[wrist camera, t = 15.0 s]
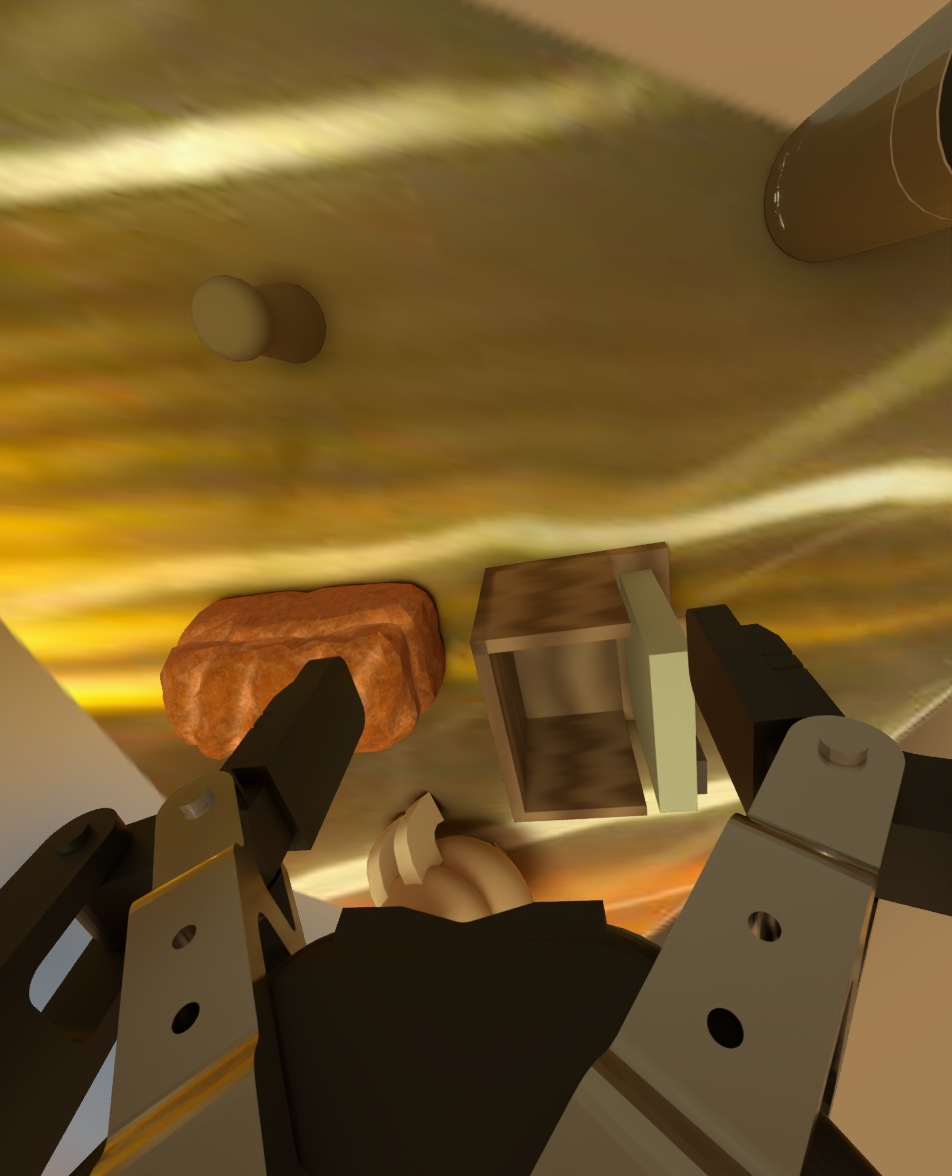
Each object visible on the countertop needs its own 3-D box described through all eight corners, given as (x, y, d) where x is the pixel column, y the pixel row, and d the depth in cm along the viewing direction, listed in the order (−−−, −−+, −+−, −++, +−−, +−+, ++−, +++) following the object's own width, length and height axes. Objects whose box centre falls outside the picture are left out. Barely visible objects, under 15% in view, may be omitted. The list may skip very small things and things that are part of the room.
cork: (309, 273, 41) (238, 251, 31) (336, 352, 43) (278, 355, 33) (245, 295, 42) (157, 280, 32) (274, 371, 44) (201, 379, 34)
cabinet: (664, 541, 47) (711, 613, 35) (672, 706, 56) (712, 811, 43) (485, 568, 51) (470, 642, 38) (518, 720, 59) (514, 822, 46)
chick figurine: (505, 1200, 36) (330, 1235, 45) (626, 984, 59) (495, 1035, 68) (353, 806, 49) (239, 894, 58) (502, 754, 72) (404, 823, 81)
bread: (453, 680, 58) (427, 787, 44) (244, 692, 62) (161, 793, 48) (431, 571, 52) (393, 655, 38) (202, 593, 56) (93, 675, 42)
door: (664, 567, 47) (711, 648, 35) (671, 701, 54) (712, 809, 41) (618, 573, 48) (649, 655, 35) (631, 704, 54) (660, 812, 42)
